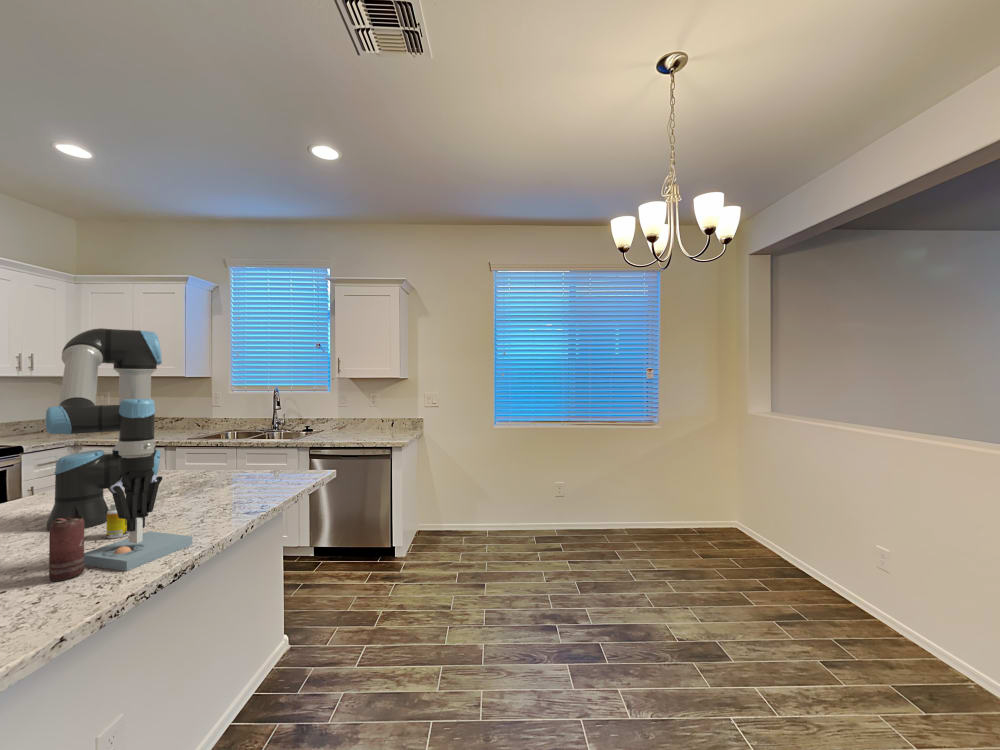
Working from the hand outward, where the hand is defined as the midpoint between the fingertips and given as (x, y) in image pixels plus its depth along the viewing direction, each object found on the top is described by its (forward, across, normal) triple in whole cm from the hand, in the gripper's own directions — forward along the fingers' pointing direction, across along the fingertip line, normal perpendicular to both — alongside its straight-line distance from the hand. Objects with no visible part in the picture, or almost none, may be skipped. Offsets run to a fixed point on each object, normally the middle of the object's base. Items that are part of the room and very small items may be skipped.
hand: (135, 541), depth 121 cm
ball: (+2, -3, 0) cm, 4 cm away
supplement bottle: (+4, +10, +20) cm, 23 cm away
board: (+4, +1, 0) cm, 4 cm away
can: (+4, -14, +3) cm, 15 cm away
